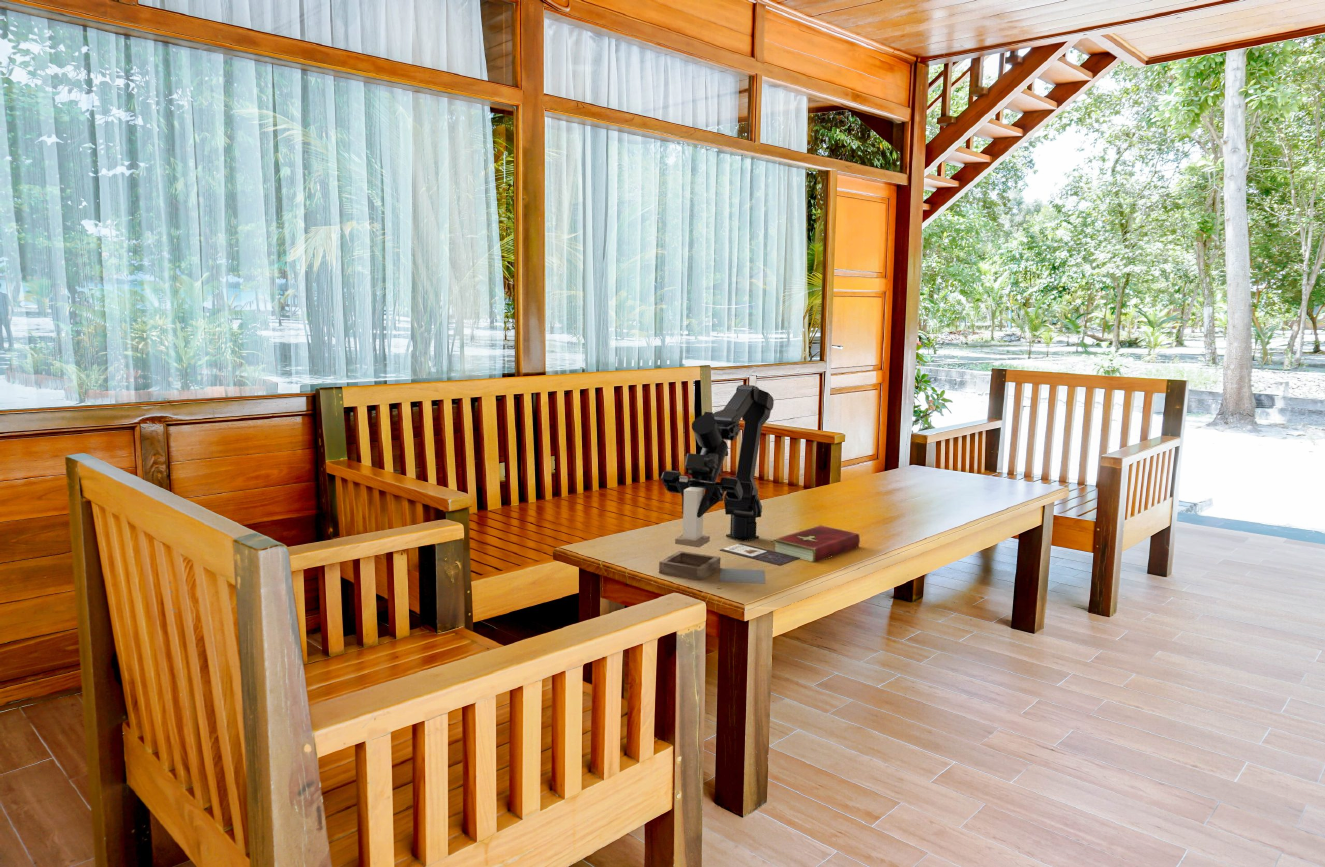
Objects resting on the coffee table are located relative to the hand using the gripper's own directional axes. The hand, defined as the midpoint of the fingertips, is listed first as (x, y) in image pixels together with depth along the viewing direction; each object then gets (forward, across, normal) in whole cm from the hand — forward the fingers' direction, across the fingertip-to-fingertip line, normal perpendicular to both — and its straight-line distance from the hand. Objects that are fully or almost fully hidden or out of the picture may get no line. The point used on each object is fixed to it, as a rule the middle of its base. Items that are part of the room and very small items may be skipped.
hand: (690, 515), depth 200 cm
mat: (+7, +12, +12) cm, 18 cm away
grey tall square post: (+4, 0, +6) cm, 7 cm away
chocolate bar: (-5, +9, +26) cm, 28 cm away
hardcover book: (-14, +20, +34) cm, 42 cm away
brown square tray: (+9, 0, +10) cm, 14 cm away
